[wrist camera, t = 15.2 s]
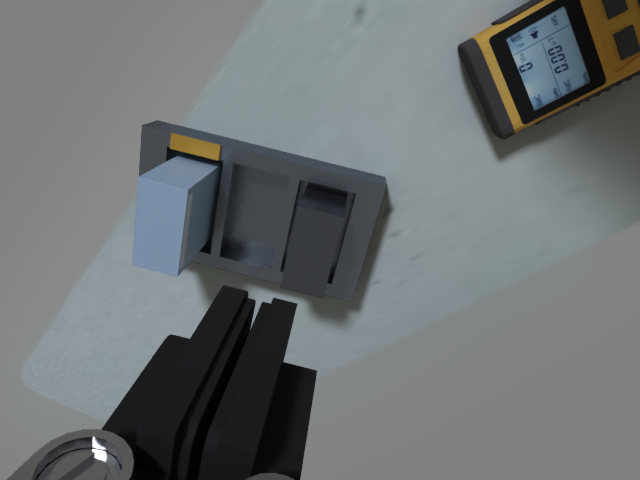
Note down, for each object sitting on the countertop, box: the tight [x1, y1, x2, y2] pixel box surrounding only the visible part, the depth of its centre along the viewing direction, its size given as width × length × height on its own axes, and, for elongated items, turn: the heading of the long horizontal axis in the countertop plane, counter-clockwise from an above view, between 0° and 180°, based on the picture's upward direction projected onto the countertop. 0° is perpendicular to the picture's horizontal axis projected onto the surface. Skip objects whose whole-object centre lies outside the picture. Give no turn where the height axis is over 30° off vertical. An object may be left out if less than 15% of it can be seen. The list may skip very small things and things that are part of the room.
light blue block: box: [132, 153, 223, 277], centre depth 35 cm, size 7×4×8 cm, turn 166°
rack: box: [139, 120, 386, 302], centre depth 37 cm, size 11×20×7 cm, turn 77°
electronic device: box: [458, 0, 640, 139], centre depth 31 cm, size 8×16×3 cm, turn 120°
